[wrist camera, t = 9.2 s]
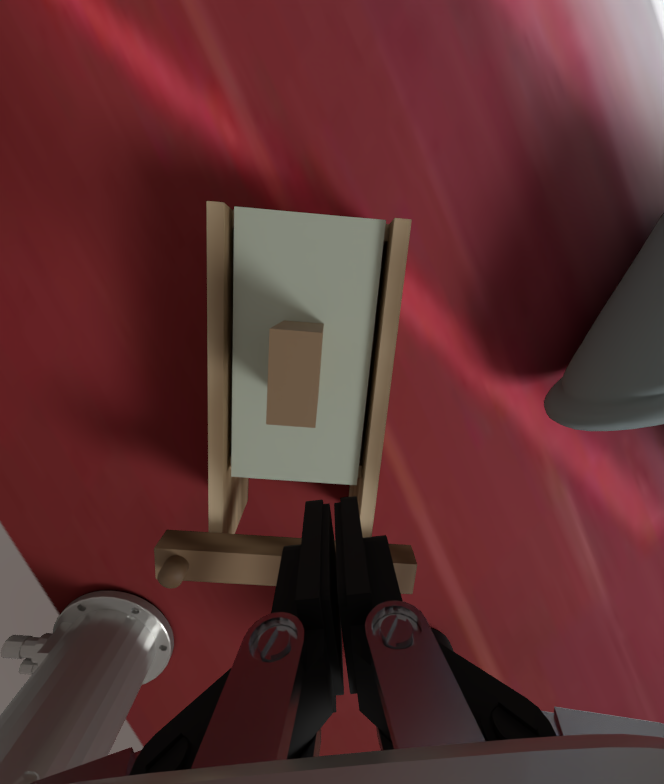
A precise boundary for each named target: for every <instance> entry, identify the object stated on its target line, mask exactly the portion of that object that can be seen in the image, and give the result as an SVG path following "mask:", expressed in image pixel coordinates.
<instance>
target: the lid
mask: <svg viewBox="0 0 664 784" xmlns="http://www.w3.org/2000/svg"><path fill="white" fill-rule="evenodd" d="M385 224H386V220H378V219H367V218H356V217H346V216H335V215H324V214H313V213H302V212H291V211H280V210H269V209H258V208H247V207H236V206H234V273H233V363H232V452H231V477H244V478H259V479H273V480H288V481H302V482H317V483H331V484H346V485H357V478H358V469H359V460H360V451H361V442H362V433H363V424H364V415H365V406H366V397H367V388H368V379H369V370H370V360H371V351H372V342H373V333H374V324H375V315H376V306H377V297H378V288H379V279H380V270H381V261H382V252H383V242H384V233H385Z"/></svg>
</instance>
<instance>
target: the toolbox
mask: <svg viewBox="0 0 664 784" xmlns="http://www.w3.org/2000/svg"><path fill="white" fill-rule="evenodd" d="M206 202H207V351H208V500H209V532H210V533H226V534H235V531H236V529H237V526H238V524H239V521H240V519H241V516H242V513H243V511H244V508H245V506H246V503H247V501H248V478H244V477H231V452H232V363H233V273H234V210H232V209H231V208H230V207H228V206H227V205H226V204H225V203H224V202H214V201H206ZM410 228H411V220H410V219H399V218H394V220H393V221H392V222H391V223H390V224H385V233H384V242H383V252H382V261H381V270H380V279H379V288H378V297H377V306H376V315H375V324H374V333H373V342H372V351H371V360H370V370H369V379H368V388H367V397H366V406H365V415H364V424H363V433H362V442H361V451H360V460H359V469H358V478H357V485H350V489H349V497H353V496H357V501H358V508H359V515H360V522H361V529H362V536H363V538H366V537H371V536H372V528H373V520H374V512H375V504H376V496H377V489H378V481H379V473H380V465H381V457H382V449H383V441H384V433H385V425H386V418H387V410H388V402H389V394H390V386H391V378H392V370H393V362H394V355H395V347H396V339H397V331H398V323H399V315H400V307H401V299H402V291H403V284H404V276H405V268H406V260H407V252H408V244H409V236H410Z"/></svg>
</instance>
